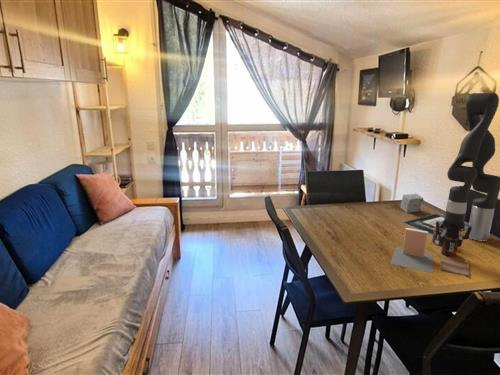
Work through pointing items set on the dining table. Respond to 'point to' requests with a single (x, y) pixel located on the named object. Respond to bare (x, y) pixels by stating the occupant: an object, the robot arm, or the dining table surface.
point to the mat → (412, 260)
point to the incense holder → (411, 203)
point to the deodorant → (450, 241)
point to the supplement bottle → (437, 237)
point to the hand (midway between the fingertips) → (449, 244)
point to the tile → (415, 242)
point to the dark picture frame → (427, 222)
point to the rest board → (454, 266)
